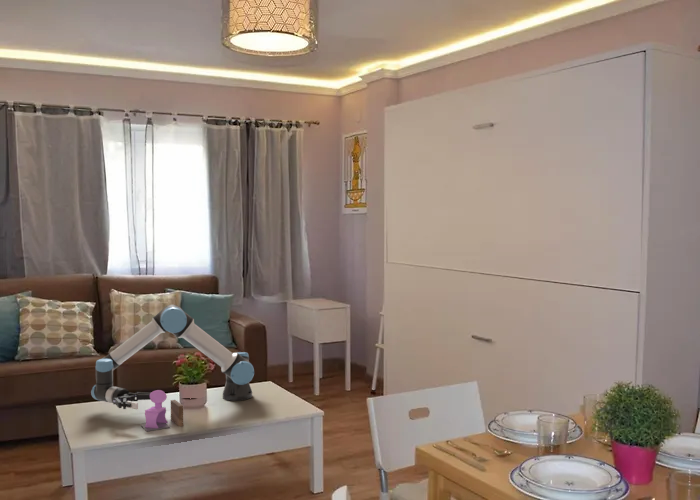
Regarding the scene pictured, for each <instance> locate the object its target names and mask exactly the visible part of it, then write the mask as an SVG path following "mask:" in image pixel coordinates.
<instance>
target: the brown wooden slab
mask: <svg viewBox="0 0 700 500" xmlns="http://www.w3.org/2000/svg"><path fill="white" fill-rule="evenodd" d="M170 421H172V422H173V423H174V424H175V425H176V426H178V427H184V405H183V404H181V402H179V401H178V400H176V399H171V400H170Z"/></svg>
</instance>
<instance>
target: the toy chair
mask: <svg viewBox="0 0 700 500" xmlns="http://www.w3.org/2000/svg"><path fill="white" fill-rule="evenodd" d="M149 393H150V399H151V400H150V401H151V402H152V403H153V404H154V406H151V407H149V408H147V409H145V410H144V411H145V412H144V417H145V424H146V426H145V427H147V428H158V426H157V424H156V422H160V423H166V424H168V420H167V418H166V413H167V409H166V407H165V406H163V403H164V402H165V401H166V400H167V398H168V397H167V396H168V395H167V393H165V391H164V390H161V389H157V390H153V391H152V392H151V391H150V392H149Z"/></svg>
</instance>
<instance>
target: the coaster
mask: <svg viewBox="0 0 700 500" xmlns="http://www.w3.org/2000/svg"><path fill="white" fill-rule="evenodd" d="M156 424H157V426H158V428H147V427H145V426H146V423H141V424H140V426H141V428H143V429H144V430H145V431H146V432H153V431H159V430H165V429H171V426H170V425H169V424H168V423H160V422H156Z"/></svg>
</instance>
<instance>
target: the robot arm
mask: <svg viewBox="0 0 700 500" xmlns="http://www.w3.org/2000/svg"><path fill="white" fill-rule="evenodd" d="M166 332H169V333H170V334H172V335H174V336H175V337H176V338H177V339H181V338H182V339H184V340H185V341H186V342H188V343H189V344H191V345H192V346H193V347H194V348H196V349H197V350H198V351H200V353H202V354H204V355H205V356H206V357H208V359H211V360H212V361H213V362H214V363H215V364H217V366H219V367H220V368H221V369H220V370H221V373H223V374H224V375H225V385H224V388H223V391H222V399H223V400H225V401H246V400H249V399H252V398H253V391H252V387H251V385H250V382H251V381H252V380H253V378H254V375H255V369H254V365H253V364H252V363H251V362H250V361H249V360H250V356H249V353H248V352H245V351H243V352H241V351H239V352H238V351H237V352H236V351H235V352H232V351H231V350H229V349H228V348H226V347H225V346H224V345H222V344H221V343H220V342H219V341H218V340H216V339H215V338H213V337H212V336H211V335H210V334H208V333H207V332H206V331H204V329H202V328H201V327H200V326H198V325H197V324H196V323H195V319H194V318H193V317H192V316H190V315H189V314H188V313H187V312H186V311H184V309H182V307H181V306H180V305H177V304H168V305H166V306H164V307H163V308H162V309H161V310H160V311H159V312H157V314H155V315H154V316H152V319H151V321H150V322H148V324H146V325H145V326H144V327H141V328H140V330H138V331H137V332H136V333H134V334H133V335H131V336H130V337H129V338H127V340H125V341H123V343H121V344H120V345H119V346H118V347H116V348H115V349H114V350H112V351H110V353H108V354H107V355H106V356H104V357H102V358H100V359H97V360H96V362H95V367H94V368H95V384H94V385H93V386H92V388H91V391H90V393H91V394H90V395H91V397H92V398H93V399H94V400H97V401H99V402H104V403H109V404H113V405H116V407H117V408H118V409H123V410H126V409H128V408H129V409H132V410H139V403H138V401H148V400H150V401H151V399H150V393H151V392H142V391H136V392H135V393H134V392H130V391H129V390H128V389H126V388H123V387H118V386H114V371H115V370H116V369H118V367H119V366H121V365H122V364H123V363H124V362H125V361H127V360H128V359H129V358H131V357H132V356H134V355H135V354H136V353H137V352H139V351H140V350H141V349H143V348H144V347H146V345H148V344H150V343H151V342H152V341H153V340H154V339H155V338H156V337H158V336H160V335H161V334H162V333H164V334H165V333H166Z"/></svg>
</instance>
